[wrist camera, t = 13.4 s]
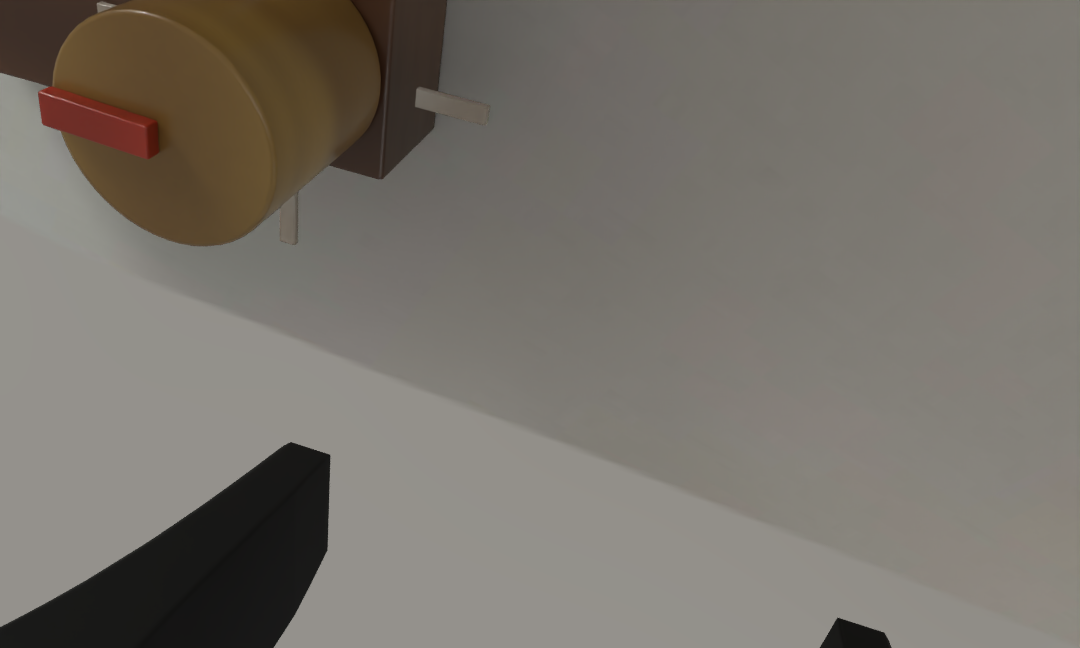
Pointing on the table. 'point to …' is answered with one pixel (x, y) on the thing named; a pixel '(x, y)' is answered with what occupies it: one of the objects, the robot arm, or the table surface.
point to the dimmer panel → (403, 51)
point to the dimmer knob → (211, 107)
